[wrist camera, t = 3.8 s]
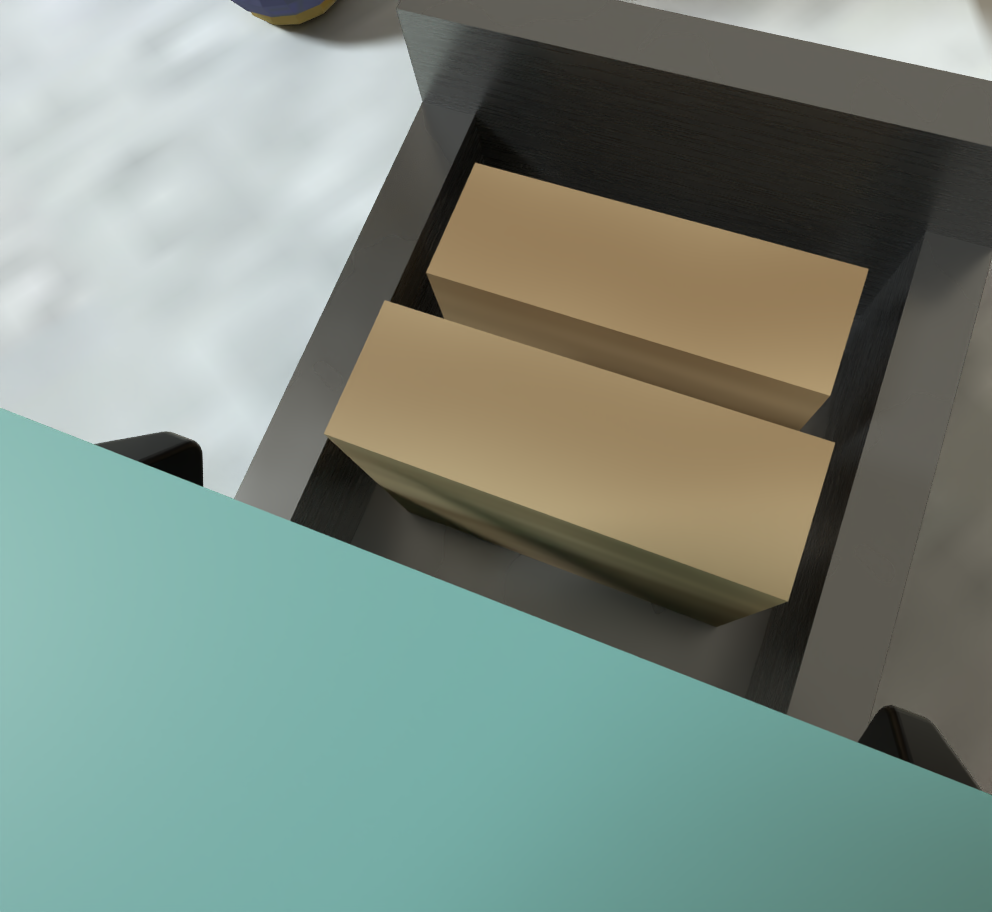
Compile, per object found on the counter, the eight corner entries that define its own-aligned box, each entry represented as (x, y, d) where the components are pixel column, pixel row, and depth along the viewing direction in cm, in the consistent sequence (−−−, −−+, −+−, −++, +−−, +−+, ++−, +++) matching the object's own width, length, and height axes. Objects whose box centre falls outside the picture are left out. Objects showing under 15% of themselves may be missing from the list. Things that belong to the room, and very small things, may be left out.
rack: (702, 1034, 13) (807, 1354, 7) (206, 795, 15) (-57, 877, 9) (906, 323, 16) (1105, 105, 10) (469, 200, 18) (409, -45, 12)
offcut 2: (716, 627, 14) (788, 601, 9) (408, 511, 15) (323, 434, 10) (749, 522, 14) (835, 442, 9) (447, 417, 15) (384, 300, 10)
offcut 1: (764, 470, 14) (830, 395, 10) (465, 372, 15) (426, 272, 12) (794, 374, 15) (869, 269, 11) (501, 286, 16) (475, 162, 12)
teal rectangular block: (653, 825, 13) (967, 1519, 2) (334, 686, 14) (-421, 723, 3) (690, 708, 13) (1097, 834, 3) (378, 583, 14) (-177, 337, 4)
